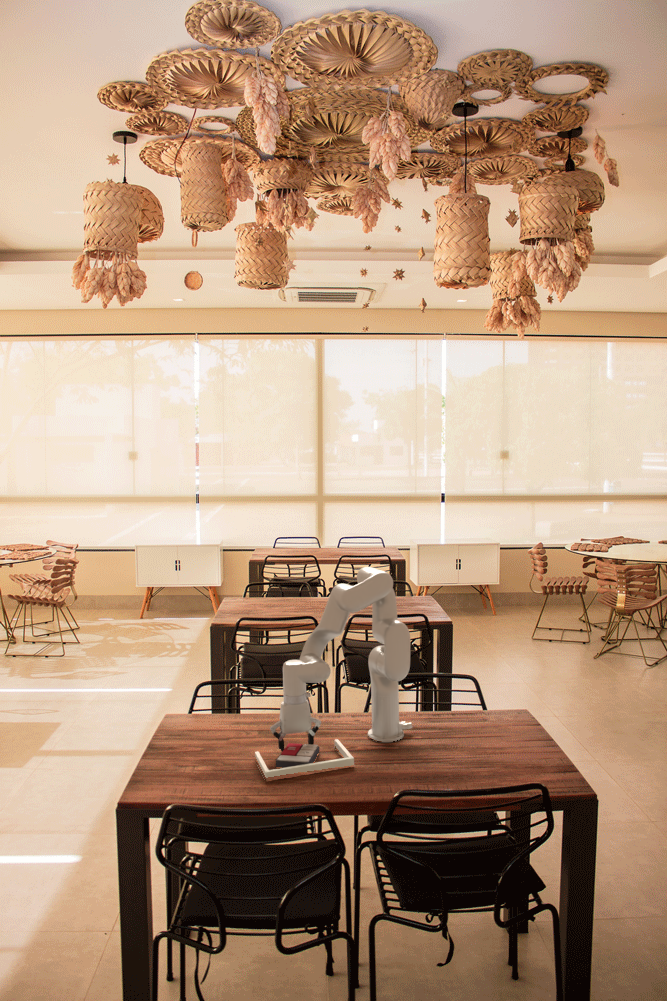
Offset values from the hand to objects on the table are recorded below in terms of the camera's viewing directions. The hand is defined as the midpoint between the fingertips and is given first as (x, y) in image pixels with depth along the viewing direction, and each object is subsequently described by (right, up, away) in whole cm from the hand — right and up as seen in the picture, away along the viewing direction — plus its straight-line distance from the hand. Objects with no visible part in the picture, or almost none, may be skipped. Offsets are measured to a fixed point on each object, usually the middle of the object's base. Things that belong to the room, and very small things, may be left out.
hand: (296, 748), depth 236 cm
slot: (+3, -2, -8) cm, 9 cm away
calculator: (+1, -3, -7) cm, 7 cm away
